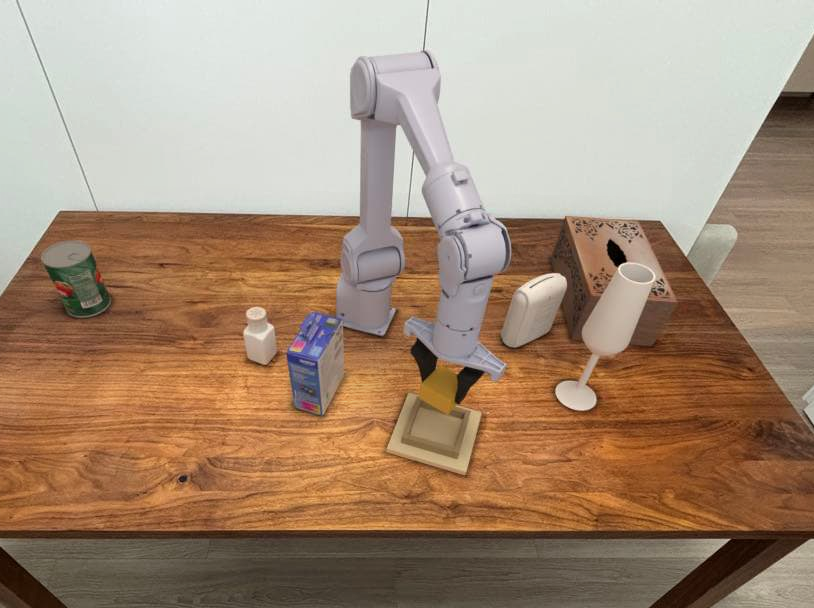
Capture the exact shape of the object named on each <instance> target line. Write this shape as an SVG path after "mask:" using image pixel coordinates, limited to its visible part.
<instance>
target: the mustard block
mask: <svg viewBox="0 0 814 608" xmlns="http://www.w3.org/2000/svg"><path fill="white" fill-rule="evenodd" d="M457 375H458V373H456V372H454V371H452V370H451V369H449V368H447V367H445V366H443V365H442V364H440V365H438V366H437V367H436V370H435V371H434V372H433V373H432V374H431V375H430V376H429V377H428V378H427V379H426V380H425V381H424V382H423V383H422V382H421V383H420V388H419V394H418V395H419V398H420V399H421V400H423V401H425V402H427V403H428V404H430V405H432V406H433V407H435V408H437V409H439V410H440V411H442V412H444V413H446V414H447V415H448V414H449V413H450V412H451V411H452V409H453V408H454V407H455V406H456V405H458V404H456V403H455V395H456V392H457V385H458V382H457Z"/></svg>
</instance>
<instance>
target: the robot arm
mask: <svg viewBox="0 0 814 608" xmlns="http://www.w3.org/2000/svg"><path fill="white" fill-rule="evenodd" d="M437 61H438V60H437V59H436V57H435V56H434V53H432V52H431V51H430V50H428V49H424V50H423V49H422V50H420V51H417V52H405V53H395V54H383V55H374V56H367V55H362V56H360V55H359V56H358V57H357V58H356V60H355V62H354V64H353V65H352V67H351V68H350V73H349V109H350V118H351V119H352V120H357V121H359V122H360V161H359V163H360V164H359V166H360V167H359V168H360V169H359V172H360V173H359V222H358V224H357V225H356V226H354V227H353V228H352V229H351V230H350V231H348V232H347V233H346V234H345V235H344V236H343V238H342V247H341V252H340V257H339V258H340V259H339V260H340V268H341V274H340V276H339V278H338V281H337V285H336V291H335V317H337V318H341V319H342V320H343V328H348V329H351V330H355V331H359V332H364V333H367V334H368V333H369V334H371V335H375V336H379V337H384V336H385V335H386V332H387V331H388V328H389V327H390V324H391V322H392V320H393V318H394V316H395V314H396V312H397V309H396V308H395V307H391V302H392V301H391V300H392V288H393V284H394V283H396V282H397V276H400V275H402V274H403V272H404V270H405V267H406V254H405V250H404V249H405V247H404V239H403V236H402V234H401V233H400V232H399V230H398V229H397V228H396V227H394V226H392V210H393V194H394V176H395V159H396V139H397V127H398V126H400V128H401V130H402V131H403V133H404V136H405V137H406V140H407V141H408V143H409V145H410V147H411V149H412V151H413V154H414V155H415V157H416V159H417V161H418V163H419V165H420V167H421V169H422V171H423V174H424V175H425V179H424V181H423V183H422V186H421V195H422V196H423V200H424V202H425V204H426V207H427V210H428V213H429V215H430V217H431V220H432V222H433V225H434V228H435V230H436V233H437V235H438V238H439V241H440V242H438V243H437V250H436V251H437V252H436V254H437V261H438V268H439V270H438V271H439V272H438V277H437V278H438V284H439V286H440V294H439V299H438V305H437V310H436V316H435V320H434V321H435V322H433V321H429V320H426V319H425V320H424V319H421V318H419V317H416V316H414V315H413V316H410V318H408V319H407V320H406V321H405V322H404V325H403V334H404V335H405V336H407V337H412V336H414V337H416V339H415V342H414V344H412V346H411V347H410V355H411V356H412V358H413V359H414V361H415V363H416V365H417V367H418V371H419V375H420V380H421V384H422V383H423V382H424V381H425V380H426V379H427V378H428V377H429V376H430V375H431V374H432V373H433V372H434V371H435V370H436V369H437V363H438V359H440V360H441V361H444V362H447V363H450V364H454V365H459V366H463V368H462V369H461V370H460V371H459V372H458V373H457V374H458V375H457V382H458V385H457V392H456V395H455V403H456V404H457V405H460V404H461V403H462V402H463V401H464V400H465V398H467V395H468V393H469V391H470V389H471V388H472V387H473V386H474V385H475V384H476V383H477V382H478V381H479V380H480V379H481V378H482V377H483V375H485V374H487V376H489V380H490V381H492V382H494V383H497V382H498V381H499V380H500V379H501V378H502V377H503V376H504V374H505V372H506V368H507V363H506V362H504V361H503V360H501V359H499V358H498V356H496V355H495V354H493V353H492V352H491V351H490V350H489V349H488V348H487V347H486V346H485V345H483V344H482V343H481V342H480V341H479V336H480V334H481V333H480V332H481V329H482V324H483V321H484V317H485V312H486V309H487V305H488V302H489V298H490V293H491V290H492V286H493V283H494V278H495V275H498V274H500V273H504V272H505V271H506V270H507V269H508V267H509V266H510V263H511V259H512V244H511V239H510V236H509V233H508V229H507V227H506V225H504V224H503V223H502V222H501V221H499V220H497V219H496V218H495V216H494V214H493V213H492V212H487V211H486V209H485V206H484V203H483V201H482V199H481V196H480V194H479V192H478V189H477V187H476V184H475V181H474V179H473V177H472V174H471V172H470V169H469V168H468V167H467V165H465V164H461V163H460V162H456V161H455V159H454V155H453V152H452V149H451V146H450V143H449V139H448V136H447V132H446V129H445V126H444V122H443V119H442V116H441V112H440V109H439V106H438V104H439V100H440V95H441V86H442V84H441V82H442V81H441V80H442V79H441V78H442V77H441V74H440V67H439V63H438V62H437Z"/></svg>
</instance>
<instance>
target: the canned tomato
mask: <svg viewBox="0 0 814 608" xmlns="http://www.w3.org/2000/svg"><path fill="white" fill-rule="evenodd" d="M40 260H41V262H42V264H43V265H44V267H45V270H46V272H47V274H48V276H49V278H50V280H51V283H52V284H53V286H54V288H55V291H56V292H57V294H58V296H59V298H60V300H61V302H62V305H63V306H64V308H65V311H66V313H67V314H68V315H69V316H71V317H74V318H77V319H87V318H92V317H95V316H98V315H100V314H102V313H104V312H105V311H106V310H107V309H108V308H109V307H110V306H111V302H112V298H111V296H110V294H109V291H108V289H107V286H106V284H105V282H104V279H103V277H102V273H101V272H100V268H99V267H98V264H97V262H96V259H95V257H94V255H93V252H92V248H91V246H90V245H89V244H88V243H86V242H85V241H81V240H63V241H60V242H57V243H54V244H52V245H50V246H48V247H47V248H45V249H44V251H43V252H42V253H41V256H40Z"/></svg>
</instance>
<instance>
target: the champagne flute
mask: <svg viewBox="0 0 814 608" xmlns="http://www.w3.org/2000/svg"><path fill="white" fill-rule="evenodd" d="M654 281H655V274H654V272H653V271H652V270H651V269H649V268H648V267H646V266H644V265H641V264H638V263H623V264H621V265H620V266H619V267H618V269H617V271H616V273H615V274H614V276H613V278H612V279H611V281H610V283H609V284H608V286H607V288H606V289H605V291H604V293H603V294H602V296H601V298H600V299H599V301H598V303H597V305H596V306H595V308H594V310H593V311H592V313H591V315H590V316H589V318H588V320H587V321H586V323H585V325H584V326H583V329H582V338H583V341H582V342H583V343H584V345H585V347H586V348H587V349H588V350H589V351H590V352H591V354H590V357H589V358H588V361H587V363H586V365H585V367H584V369H583V371H582V372H581V375H580V377H579V379H578V380H564V381H562V382H559V383H558V384H557V385H556V386H555V391H554V392H555V393H554V394H555V396H556V398H557V399H558V401H559V402H560V403H561V404H562V405H563V406H565V407H567V408H569V409H571V410H573V411H574V410H575V411H581V412H583V411H588V410H591V409H593V408H594V407H595V406H596V404H597V401H598V399H597V395H596V392H595V391H594V390H593V389H592V388H591V387H589V385H587V383H588V380H589V378H591V377H590V376H591V374H592V372H593V371H594V369H595V367H596V365H597V363H598V361H599V359H600V357H610V356H614V355H617V354H619V353H621V352H623V351H624V350H625V349H627V348H628V346H629V342H630V340H631V337H632V335H633V332H634V330H635V327H636V325H637V322H638V320H639V318H640V315H641V313H642V310H643V308H644V305H645V303H646V300H647V298H648V295H649V293H650V291H651V288H652V286H653V283H654Z"/></svg>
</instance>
